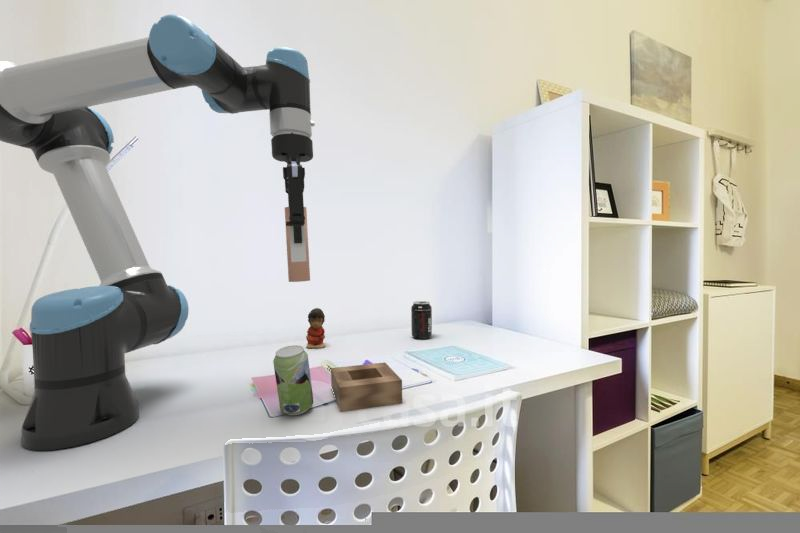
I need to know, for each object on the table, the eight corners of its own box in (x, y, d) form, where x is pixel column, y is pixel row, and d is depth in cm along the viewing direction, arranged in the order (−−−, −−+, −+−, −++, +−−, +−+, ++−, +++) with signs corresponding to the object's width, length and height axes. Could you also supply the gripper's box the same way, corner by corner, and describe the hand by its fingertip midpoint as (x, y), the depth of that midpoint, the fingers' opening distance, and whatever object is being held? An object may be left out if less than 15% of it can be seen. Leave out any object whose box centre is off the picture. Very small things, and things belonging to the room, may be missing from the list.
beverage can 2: (435, 338, 125) (435, 302, 124) (418, 341, 121) (418, 304, 121) (424, 334, 131) (424, 300, 130) (407, 337, 127) (407, 301, 127)
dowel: (288, 282, 70) (284, 206, 69) (288, 280, 73) (284, 209, 73) (310, 280, 71) (306, 206, 70) (309, 279, 75) (305, 208, 74)
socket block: (340, 411, 69) (339, 387, 69) (331, 388, 80) (331, 368, 80) (402, 402, 72) (401, 380, 72) (385, 382, 84) (385, 362, 84)
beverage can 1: (319, 405, 72) (317, 343, 71) (300, 422, 65) (299, 353, 64) (289, 402, 73) (287, 341, 73) (267, 419, 66) (266, 351, 65)
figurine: (302, 346, 116) (301, 308, 115) (318, 343, 120) (317, 306, 119) (312, 350, 111) (311, 310, 111) (328, 347, 115) (328, 308, 114)
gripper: (315, 123, 64) (322, 261, 65) (309, 150, 80) (315, 260, 81) (268, 121, 62) (276, 263, 63) (272, 149, 78) (279, 261, 79)
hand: (298, 261), depth 72 cm, fingers closed on dowel, 4 cm apart
